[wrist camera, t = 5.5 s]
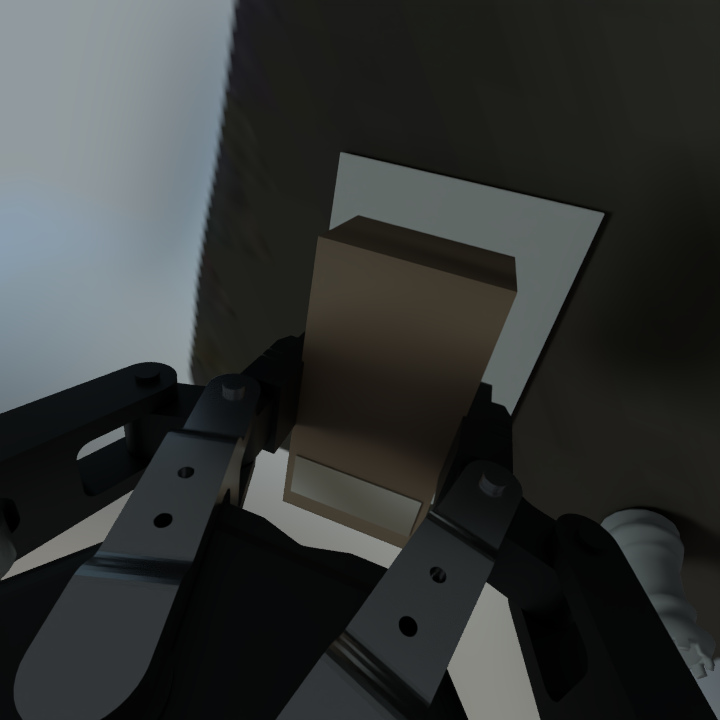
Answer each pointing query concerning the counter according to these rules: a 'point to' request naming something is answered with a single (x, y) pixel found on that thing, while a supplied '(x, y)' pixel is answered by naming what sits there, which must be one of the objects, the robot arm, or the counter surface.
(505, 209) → the grey mat
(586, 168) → the counter surface
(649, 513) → the rook chess piece
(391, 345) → the brown rectangular block
